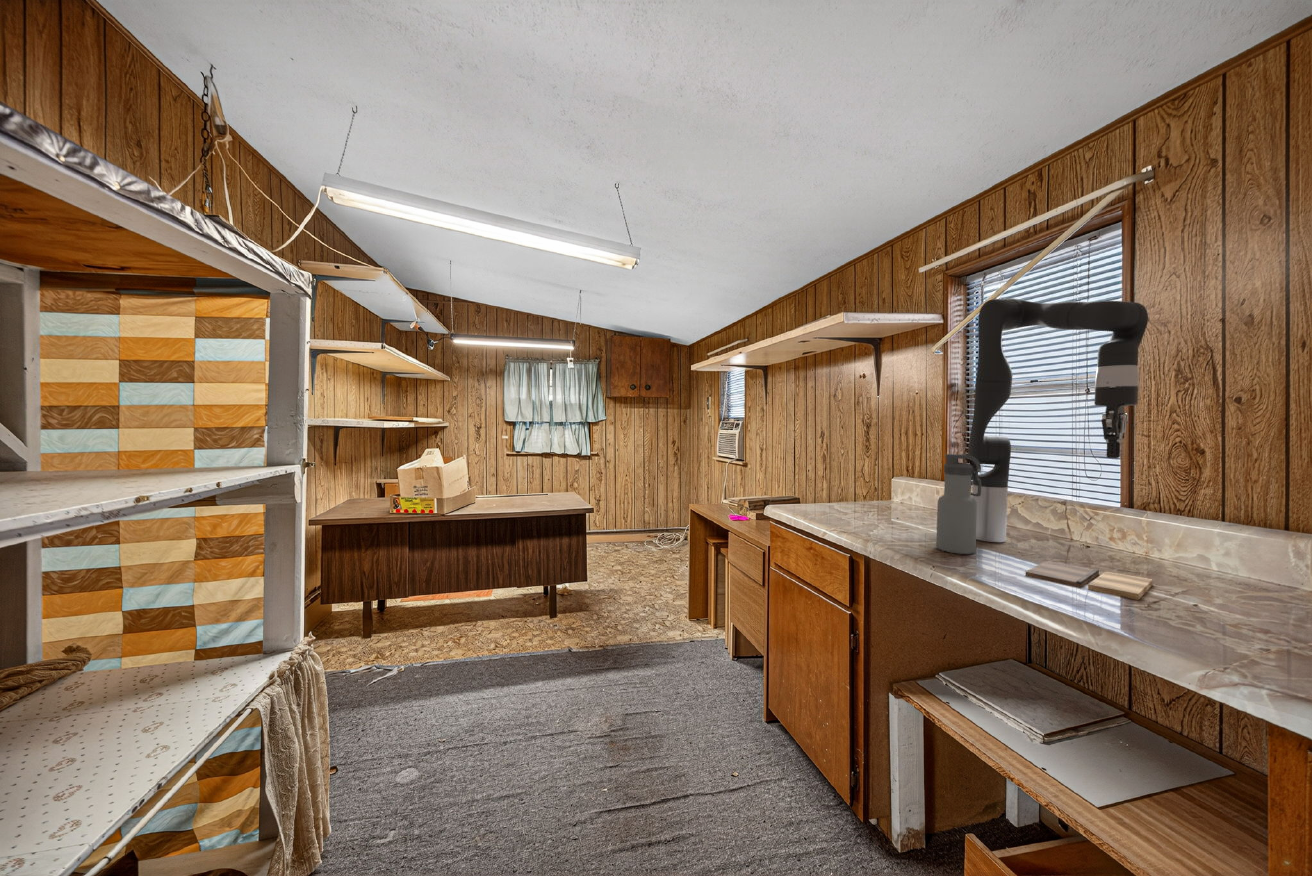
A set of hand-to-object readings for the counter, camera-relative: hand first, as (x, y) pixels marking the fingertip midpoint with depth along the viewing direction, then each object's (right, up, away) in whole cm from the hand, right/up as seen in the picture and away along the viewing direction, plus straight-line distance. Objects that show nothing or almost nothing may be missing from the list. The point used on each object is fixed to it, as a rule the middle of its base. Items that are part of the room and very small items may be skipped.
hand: (1113, 457), depth 116 cm
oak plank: (-8, -29, -10) cm, 31 cm away
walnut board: (-14, -29, -1) cm, 32 cm away
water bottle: (-23, -28, +24) cm, 44 cm away
